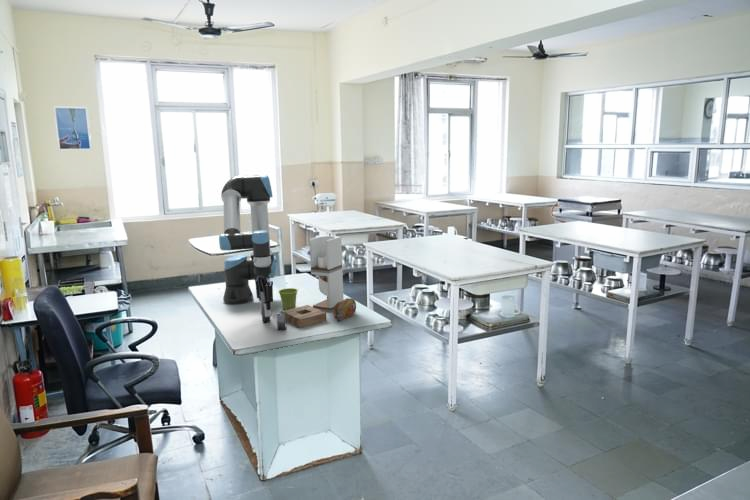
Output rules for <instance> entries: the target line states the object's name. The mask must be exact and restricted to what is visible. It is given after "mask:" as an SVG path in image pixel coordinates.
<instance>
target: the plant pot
mask: <svg viewBox="0 0 750 500" xmlns="http://www.w3.org/2000/svg"><path fill="white" fill-rule="evenodd" d="M298 291H299V290H298V288H293V287H291V288H290V287H289V288H283V289H280V290H279V291H278V293H279V295H280V300H281V304H282V308H283V309H284V310H289V309H293V308H296V306H297V305H296V304H297V294H298Z"/></svg>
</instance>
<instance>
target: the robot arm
mask: <svg viewBox="0 0 750 500" xmlns="http://www.w3.org/2000/svg"><path fill="white" fill-rule="evenodd" d="M220 195H221V198H220V199H221V201H222V202H223V233H221V234H219V237H218V243H219V249H220V250H221V251H228V252H229V251H238V250H241V251H242V250H252V252H251V253H250V257H248V256H247V255H246V254H239V255H234V256H229V257H228V258H226V259H225V260H224V262H223V267H224V268H223V270H224V281H225V290H224V294H223V298H222V299H223V303H224V304H227V305H240V304H246V303H250V302H252V301H253V300H254V295H253V294H254V293H253V292H252V290H251V287H250V285H249V283H250V282H249V281H253V280H254V283H255V284H254V285H255V292H256V299H258V301H259V308H260V315H261V316H262V310H261V295H260V291H262V290H263V291H264V298H265V302H264V308H265V317H268V316H270V317H271V316H272V309H271V308H272V305H271V303H273V302H274V288H273V285H274V281H271V280H270V279H273V278H275V276H276V273H277V272H276V271H277V256H276V255H274V252H273V251H272V250H271V240H270V226H269V223H270V222H269V209H268V204H269V203H270V202H271V198H273V192H272V186H271V180H270V177H269V176H268V175H266V174H251V175H236V176H233V177H232V178H230V179H229V180H227V182H226V183H225V184H224V186H223V187H222V190H221V194H220ZM242 199H245V200H246V203H247V204H248V205H249V206H250V207H249V208H250V219H251V232H241V209H240V208H241V207H240V202H241V200H242Z"/></svg>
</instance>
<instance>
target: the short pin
mask: <svg viewBox="0 0 750 500" xmlns="http://www.w3.org/2000/svg"><path fill="white" fill-rule="evenodd" d="M275 315H276V329H277V331H278V332H284V331H286V329H287V327H286V321H285V313H282V312H279V313H276V314H275Z"/></svg>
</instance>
